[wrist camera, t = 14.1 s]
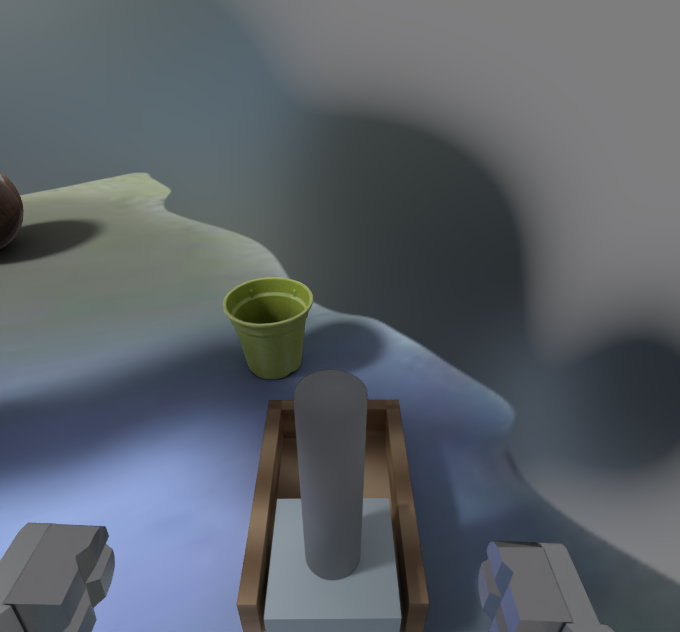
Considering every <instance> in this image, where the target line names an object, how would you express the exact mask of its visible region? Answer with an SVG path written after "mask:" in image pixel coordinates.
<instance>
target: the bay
mask: <svg viewBox="0 0 680 632" xmlns="http://www.w3.org/2000/svg"><path fill="white" fill-rule="evenodd" d="M363 498H389V503H390V512H391V522H392V532H393V541H394V551H395V561H396V570H397V580H398V590H399V599H400V609H401V625H400V631H399V632H423V630H424V625H425V620H426V615H427V611H428V606H429V600H428V593H427V586H426V580H425V573H424V566H423V560H422V553H421V546H420V540H419V533H418V527H417V520H416V513H415V507H414V500H413V493H412V487H411V480H410V473H409V467H408V460H407V453H406V447H405V440H404V433H403V427H402V420H401V413H400V407H399V400H367V419H366V442H365V465H364V489H363ZM277 499H301V493H300V479H299V466H298V452H297V439H296V425H295V412H294V400H269V404H268V411H267V417H266V423H265V429H264V436H263V442H262V448H261V455H260V461H259V467H258V474H257V480H256V486H255V493H254V499H253V505H252V511H251V518H250V524H249V530H248V537H247V543H246V549H245V556H244V562H243V568H242V575H241V581H240V587H239V593H238V600H237V608H238V612H239V616H240V620H241V624H242V628H243V632H266V629H265V624H264V613H265V604H266V595H267V586H268V577H269V568H270V559H271V550H272V542H273V533H274V524H275V515H276V506H277Z"/></svg>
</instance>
